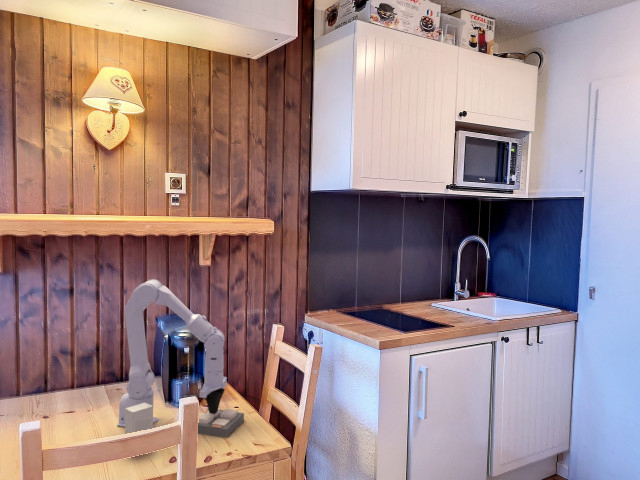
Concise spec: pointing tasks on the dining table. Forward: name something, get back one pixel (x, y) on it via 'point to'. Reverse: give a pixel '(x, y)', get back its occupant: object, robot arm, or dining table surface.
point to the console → (220, 430)
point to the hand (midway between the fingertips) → (213, 412)
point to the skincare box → (138, 418)
